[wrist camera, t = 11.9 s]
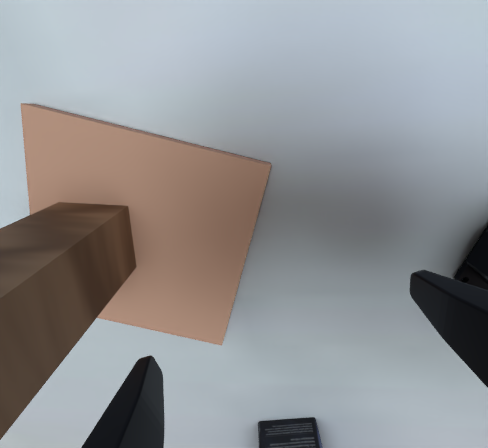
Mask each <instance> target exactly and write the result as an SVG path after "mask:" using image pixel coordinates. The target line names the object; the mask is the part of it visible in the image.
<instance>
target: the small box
mask: <svg viewBox="0 0 488 448" xmlns="http://www.w3.org/2000/svg"><path fill="white" fill-rule="evenodd" d="M258 432H259V448H322V443H321V439H320V435H319V431H318V427H317V423H316V419H315V418H302V419H288V420H276V421H263V422H259V423H258Z"/></svg>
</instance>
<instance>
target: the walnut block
mask: <svg viewBox="0 0 488 448" xmlns="http://www.w3.org/2000/svg"><path fill="white" fill-rule="evenodd" d="M136 267H137V266H136V259H135V252H134V245H133V237H132V230H131V223H130V216H129V208H128V206H123V205H105V204H86V203H67V202H58V203H56V204H53V205H51V206H49V207H47V208H45V209H42V210H40V211H38V212H36V213H34V214H32V215H29V216H27V217H25V218H23V219H21V220H18V221H16V222H14V223H12V224H10V225H8V226H5V227H3V228H1V229H0V440H1V438H2V437H3V436H4V434H5V433H6V432H7V431H8V429H9V428H10V427H11V426H12V424H13V423H14V422H15V420H16V419H17V418H18V417H19V415H20V414H21V413H22V412H23V410H24V409H25V408H26V407H27V405H28V404H29V403H30V401H31V400H32V399H33V398H34V396H35V395H36V394H37V393H38V391H39V390H40V389H41V388H42V386H43V385H44V384H45V382H46V381H47V380H48V379H49V377H50V376H51V375H52V374H53V372H54V371H55V370H56V369H57V367H58V366H59V365H60V363H61V362H62V361H63V360H64V358H65V357H66V356H67V355H68V353H69V352H70V351H71V350H72V348H73V347H74V346H75V344H76V343H77V342H78V341H79V339H80V338H81V337H82V336H83V334H84V333H85V332H86V331H87V329H88V328H89V327H90V325H91V324H92V323H93V322H94V320H95V319H96V318H97V317H98V315H99V314H100V313H101V312H102V310H103V309H104V308H105V306H106V305H107V304H108V303H109V301H110V300H111V299H112V298H113V296H114V295H115V294H116V293H117V291H118V290H119V289H120V287H121V286H122V285H123V284H124V282H125V281H126V280H127V279H128V277H129V276H130V275H131V273H132V272H133V271H134V270H135V268H136Z"/></svg>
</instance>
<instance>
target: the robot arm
mask: <svg viewBox="0 0 488 448" xmlns="http://www.w3.org/2000/svg"><path fill="white" fill-rule="evenodd" d="M464 277H465V278H464ZM463 278H464V279H463ZM454 279H455V280H454ZM454 279H451V278H448V277H445V276H442V275H439V274H436V273H433V272H429V271H426V270H421V271H418V272H414V273H412V274H411V278H410V294H411V297H412V298H413V300H414V301H415V302H416V304H417V305H418V306H419V308H420V309H421V310H422V312H423V313H424V314H425V316H426V317H427V318H428V320H429V321H430V322H431V324H432V325H433V326H434V328H435V329H436V330H437V332H438V333H439V334H440V335H441V337H442V338H443V339H444V340H445V341H446V342H447V343H448V345H449V346H450V347H451V348H452V349H453V350H454V351H455V352H456V353H457V354H458V356H459V357H460V358H461V359H462V360H463V361H464V362H465V363H466V364H467V365H468V367H469V368H470V369H471V370H472V371H473V372H474V373H475V374H476V375H477V376H478V377H479V379H480V380H481V381H482V382H483V383H484V384H485V385H486V386H487V387H488V226H487V227H486V229H485V231H484V232H483V234H482V235H481V237H480V238H479V240H478V241H477V243H476V244H475V246H474V247H473V249H472V251H471V252H470V254H469V255H468V257H467V258H466V260H465V261H464V263H463V264H462V266H461V267H460V269H459V270H458V272H457V274H456V275H455V277H454ZM163 445H164V394H163V374H162V371H161V369H160V367H159V366H158V364H157V362H156V361H155V359H154V357H153V356H147V357H143V358H140V359H139V360H138V361H137V362H136V364H135V365H134V367H133V368H132V370H131V372H130V373H129V375H128V376H127V378H126V379H125V381H124V382H123V384H122V386H121V387H120V389H119V390H118V392H117V393H116V395H115V396H114V398H113V399H112V401H111V403H110V404H109V406H108V407H107V409H106V410H105V412H104V413H103V415H102V417H101V418H100V420H99V421H98V423H97V424H96V426H95V427H94V429H93V431H92V432H91V434H90V435H89V437H88V438H87V440H86V441H85V443H84V444H83V446H82V448H163Z"/></svg>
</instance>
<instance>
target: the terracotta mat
mask: <svg viewBox="0 0 488 448" xmlns="http://www.w3.org/2000/svg"><path fill="white" fill-rule="evenodd" d="M21 114H22V125H23V137H24V149H25V160H26V172H27V184H28V196H29V207H30V215H32V214H34V213H36V212H38V211H40V210H42V209H45V208H47V207H49V206H51V205H53V204H56V203H58V202H67V203H86V204H105V205H123V206H128V208H129V216H130V223H131V230H132V237H133V245H134V252H135V259H136V266H137V267H136V268H135V270H134V271H133V272H132V273H131V275H130V276H129V277H128V279H127V280H126V281H125V282H124V284H123V285H122V286H121V287H120V289H119V290H118V291H117V293H116V294H115V295H114V296H113V298H112V299H111V300H110V301H109V303H108V304H107V305H106V306H105V308H104V309H103V310H102V312H101V313H100V314H99V315H98V317H97V318H101V319H105V320H110V321H114V322H119V323H123V324H128V325H132V326H137V327H141V328H146V329H150V330H155V331H159V332H164V333H168V334H173V335H177V336H182V337H186V338H191V339H195V340H200V341H204V342H209V343H213V344H218V345H222V343H223V339H224V336H225V332H226V329H227V325H228V321H229V318H230V314H231V310H232V307H233V303H234V300H235V296H236V292H237V289H238V285H239V281H240V278H241V274H242V271H243V267H244V263H245V260H246V256H247V252H248V249H249V245H250V242H251V238H252V234H253V231H254V227H255V223H256V220H257V216H258V213H259V209H260V205H261V202H262V198H263V194H264V191H265V187H266V184H267V180H268V176H269V173H270V169H271V163H268V162H264V161H260V160H256V159H252V158H248V157H244V156H240V155H236V154H232V153H228V152H224V151H220V150H216V149H212V148H208V147H204V146H200V145H196V144H192V143H188V142H184V141H180V140H176V139H172V138H168V137H164V136H160V135H156V134H152V133H148V132H144V131H140V130H136V129H132V128H128V127H124V126H120V125H116V124H112V123H108V122H104V121H100V120H96V119H92V118H88V117H84V116H80V115H76V114H72V113H68V112H64V111H60V110H56V109H52V108H48V107H44V106H40V105H36V104H22V103H21Z"/></svg>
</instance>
